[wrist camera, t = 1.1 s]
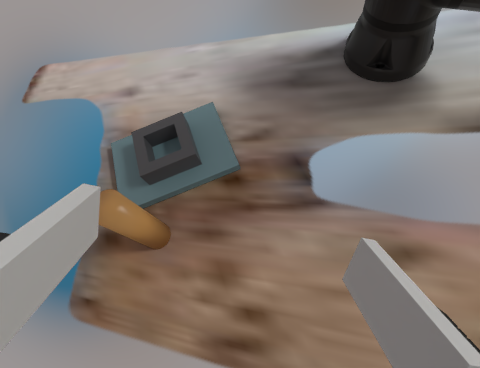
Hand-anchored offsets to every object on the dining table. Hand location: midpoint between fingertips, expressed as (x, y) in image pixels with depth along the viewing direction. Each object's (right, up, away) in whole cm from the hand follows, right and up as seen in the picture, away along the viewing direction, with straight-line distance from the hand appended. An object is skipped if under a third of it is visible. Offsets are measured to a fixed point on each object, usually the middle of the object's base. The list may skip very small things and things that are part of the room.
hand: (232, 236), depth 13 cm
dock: (-12, +8, +37) cm, 40 cm away
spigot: (-13, -6, +31) cm, 34 cm away
